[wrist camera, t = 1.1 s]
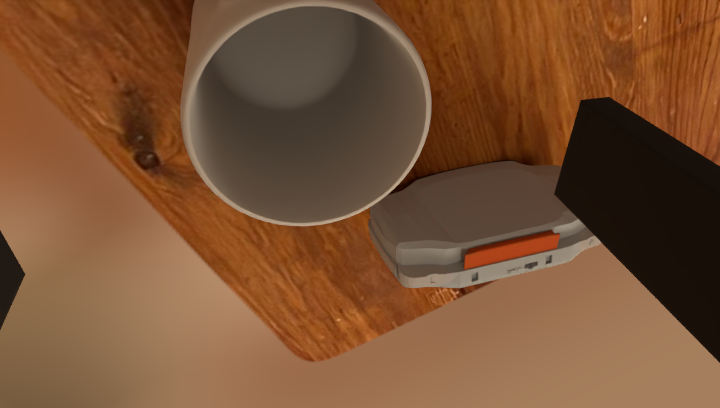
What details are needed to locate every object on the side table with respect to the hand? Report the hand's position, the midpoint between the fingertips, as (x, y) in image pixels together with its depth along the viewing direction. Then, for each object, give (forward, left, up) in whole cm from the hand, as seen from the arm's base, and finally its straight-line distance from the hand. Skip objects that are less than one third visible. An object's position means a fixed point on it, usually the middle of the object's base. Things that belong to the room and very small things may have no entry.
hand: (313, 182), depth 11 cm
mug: (0, 0, -16) cm, 16 cm away
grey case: (+13, +12, -16) cm, 24 cm away
